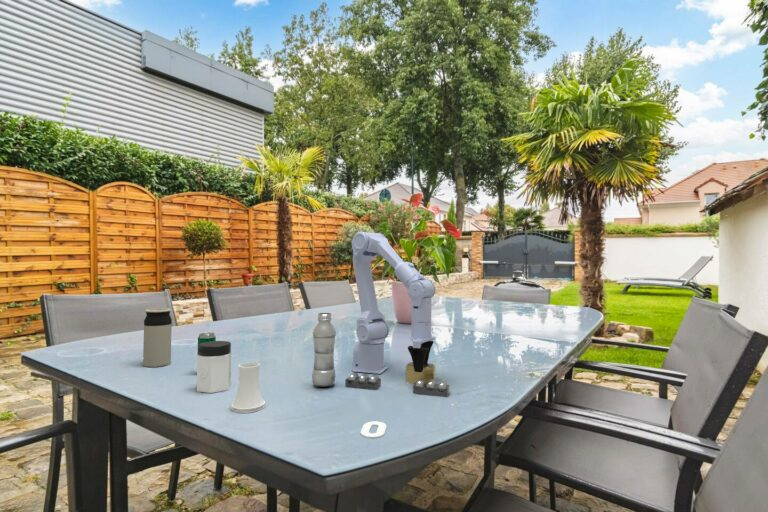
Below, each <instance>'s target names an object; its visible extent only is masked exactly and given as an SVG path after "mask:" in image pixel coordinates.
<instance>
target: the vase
mask: <svg viewBox="0 0 768 512" xmlns="http://www.w3.org/2000/svg"><path fill="white" fill-rule="evenodd" d="M260 365H261V364H260V363H259V362H242V363H239V364H238V367H237V368H238V384H237V385H238V386H237V390H236V393H235V397H234V400H233V402H232V403H231V405H230V406H231V408H230V409H231V411H232V412H234V413H237V414H238V413H241V414H247V413H255V412H259V411H261V410H263V409H264V408H265V406H266V405H265V404H266V400H264V399H263V396H262V393H261V388H260V383H259V380H260V379H259V376H260V375H259V374H260Z"/></svg>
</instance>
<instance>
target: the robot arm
mask: <svg viewBox="0 0 768 512" xmlns="http://www.w3.org/2000/svg"><path fill="white" fill-rule="evenodd" d="M351 247H352V265H353V270H354V276H355V283H356V288H357V293H358V294H357V295H358V301H359V305H360V306H359V307H360V310H361V314H360V315H359V316H358V317H357V319H356V337H357V339H358V341H356V342H355V343H354V345H353V351H352V356H353V357H352V370H351V371H352V372H353V373H363V374H374V375H375V374H376V375H380V374H381V375H382V374H383V372H385V371H386V370H387V369H388V366H385V364H384V362H385V359H384V358H385V342H386V338H388V337H389V334H390V326H389V324H388V322H387V321H386V318H385V314H383V313H382V312H381V311H380V310H379V305H378V300H377V295H376V289H375V284H374V277H373V272H372V268H371V267H372V266H371V263H372V261H373V260H375V258H376V257H377V256H378V255H380V257H382V258H383V260H385V261H386V262H387V263H389V264H388V265H390V266H391V267H392V268H393V269H394V276H395V277H396V278H397V279H398V280H399V281H400V282H401V283H402V284H403V286H405V288H406V289H407V290H406V291H407V295H408V297H409V300H410V304H411V321H410V323H411V326H410V327H411V328H410V329H411V332H410V333H411V335H410V341H412V345H409V346H407V350H408V352H409V354H410V357H411V360H412V361H411V362H413V366H414V371H415V372H422V371H423V367H424V364H427V363H428V362H429V357H430V352H431V349H432V346H433V344H434V341H435V340H436V336H432V298H433V297H434V296H435V294H436V285H435V284H434V282H433V281H432V280H431V279H428V278H427V279H426V278H425V276H424V275H423V274H421V273H420V272H419V271H418V270H417V269H416V268H415V264H414V263H412V262H409V261H404V260H403V259H402V258H401V257H400V256H399V255H398V253H397V251H395V250H394V248H393V247H392V246H391V244H390V243H389V239H388V238H387V237H385V235H384V234H383V233H381V232H366V231H365V232H364V231H362V230H360V231H358V232H356V233H355V234H354V236H353V238H352V240H351Z"/></svg>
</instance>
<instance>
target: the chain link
mask: <svg viewBox="0 0 768 512" xmlns="http://www.w3.org/2000/svg"><path fill="white" fill-rule="evenodd" d="M372 427H377V430H376V432H373V433H372V432H371V430H372ZM387 428H388V426H387V424H386V423H384V422H382V421H376V420H375V421H374V420H373V421H368V422H365V423H364V424H363V426H362V427H361V430H360V436H361V437H363V438H366V439H379V438H383V437H384V436H385V434H386V431H387Z"/></svg>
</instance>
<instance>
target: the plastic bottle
mask: <svg viewBox="0 0 768 512" xmlns="http://www.w3.org/2000/svg"><path fill="white" fill-rule="evenodd" d="M317 321H318V322H317V324H316V325H315V327H314V328H313V331H312V340H313V350H314V351H313V352H314V360H313V369H312V374H311V380H312V383H313V385H314V386H316V387H323V388H324V387H330V386H333V385H334V383H335V381H336V378H337V377H336V376H337V375H336V369H335V361H334V360H335V359H334V356H335V355H334V354H335V352H334V351H335V343H336V335H337V332H336V328H335V327H334V325H333V324H332V322H331V321H332V313H331V312H318V314H317Z"/></svg>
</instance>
